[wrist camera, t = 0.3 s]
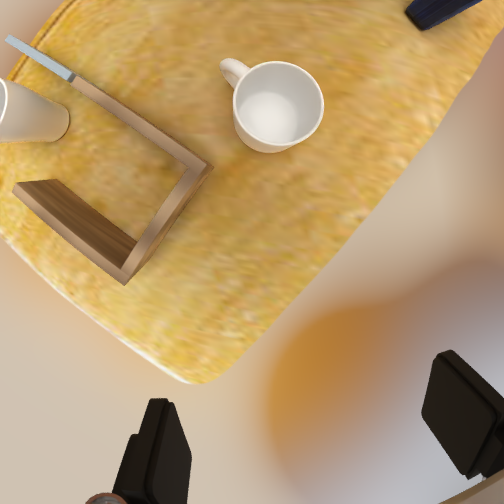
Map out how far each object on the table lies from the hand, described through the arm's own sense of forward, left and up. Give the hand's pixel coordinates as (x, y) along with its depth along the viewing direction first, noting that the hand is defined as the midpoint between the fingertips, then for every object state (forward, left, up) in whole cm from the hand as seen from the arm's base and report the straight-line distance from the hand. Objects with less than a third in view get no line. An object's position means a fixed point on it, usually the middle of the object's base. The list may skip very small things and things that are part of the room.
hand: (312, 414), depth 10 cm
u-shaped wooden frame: (+3, -18, -31) cm, 36 cm away
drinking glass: (+3, -32, -31) cm, 44 cm away
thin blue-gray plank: (-3, -34, -30) cm, 46 cm away
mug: (-13, -10, -31) cm, 35 cm away
